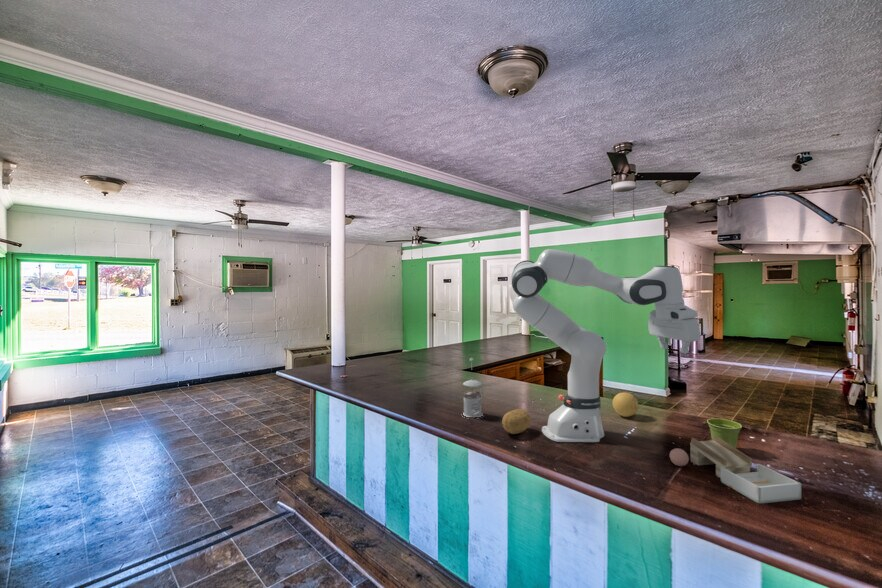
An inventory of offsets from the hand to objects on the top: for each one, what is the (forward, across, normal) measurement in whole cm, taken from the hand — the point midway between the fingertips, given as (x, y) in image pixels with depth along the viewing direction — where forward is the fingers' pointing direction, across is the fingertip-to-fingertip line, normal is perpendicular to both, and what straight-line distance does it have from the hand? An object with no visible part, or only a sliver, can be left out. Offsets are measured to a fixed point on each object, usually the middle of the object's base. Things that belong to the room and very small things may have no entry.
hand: (674, 350), depth 135 cm
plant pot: (+33, +9, +8) cm, 35 cm away
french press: (+26, -44, -65) cm, 82 cm away
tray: (+31, +33, -6) cm, 46 cm away
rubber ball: (+30, +16, -15) cm, 38 cm away
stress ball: (+32, -28, -3) cm, 43 cm away
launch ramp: (+31, +20, -5) cm, 38 cm away
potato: (+27, -20, -54) cm, 64 cm away
